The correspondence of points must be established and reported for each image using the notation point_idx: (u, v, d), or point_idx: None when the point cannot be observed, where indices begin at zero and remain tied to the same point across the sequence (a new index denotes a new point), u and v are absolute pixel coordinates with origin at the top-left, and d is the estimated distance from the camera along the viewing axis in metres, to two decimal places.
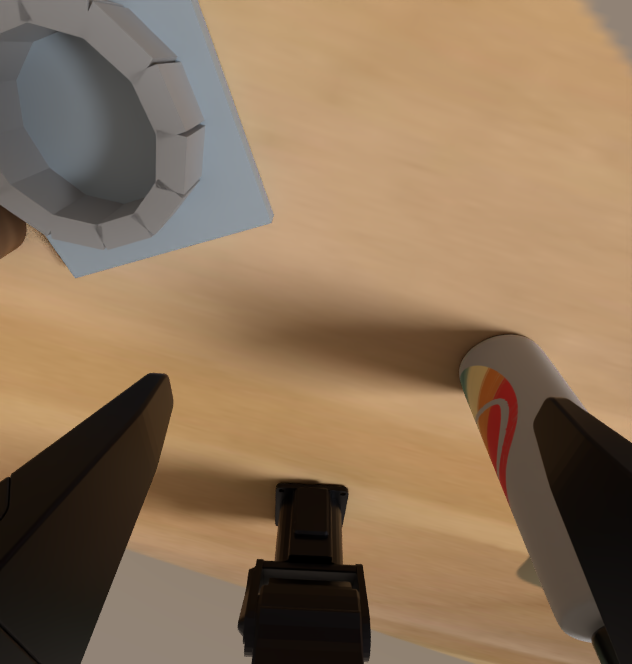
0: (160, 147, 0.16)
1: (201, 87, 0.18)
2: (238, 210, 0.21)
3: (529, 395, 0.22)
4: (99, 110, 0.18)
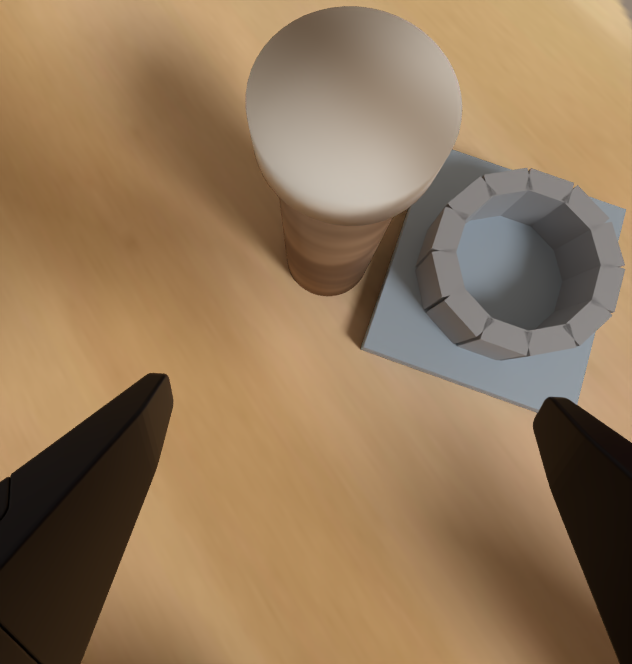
0: (587, 307, 0.20)
1: None
2: (553, 394, 0.22)
3: None
4: (506, 269, 0.23)
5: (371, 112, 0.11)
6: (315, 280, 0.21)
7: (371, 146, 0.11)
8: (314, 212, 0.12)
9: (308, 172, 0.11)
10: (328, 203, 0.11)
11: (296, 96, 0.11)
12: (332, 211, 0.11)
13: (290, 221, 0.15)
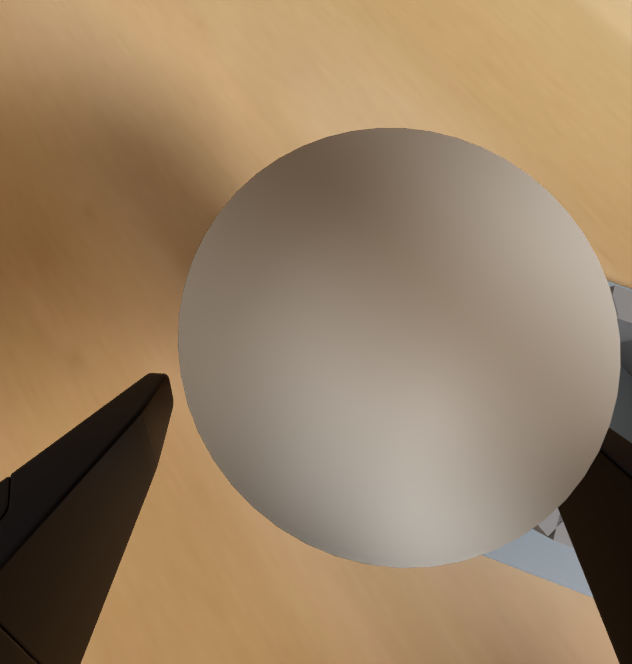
0: None
1: None
2: None
3: None
4: None
5: (437, 352, 0.05)
6: None
7: (438, 430, 0.05)
8: None
9: (306, 495, 0.05)
10: None
11: (283, 318, 0.05)
12: None
13: None
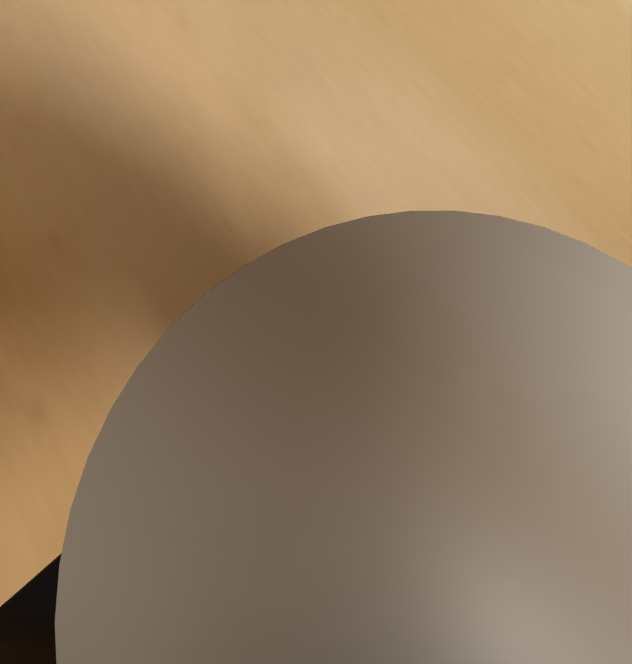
0: None
1: None
2: None
3: None
4: None
5: (522, 630, 0.03)
6: None
7: None
8: None
9: None
10: None
11: (247, 567, 0.03)
12: None
13: None
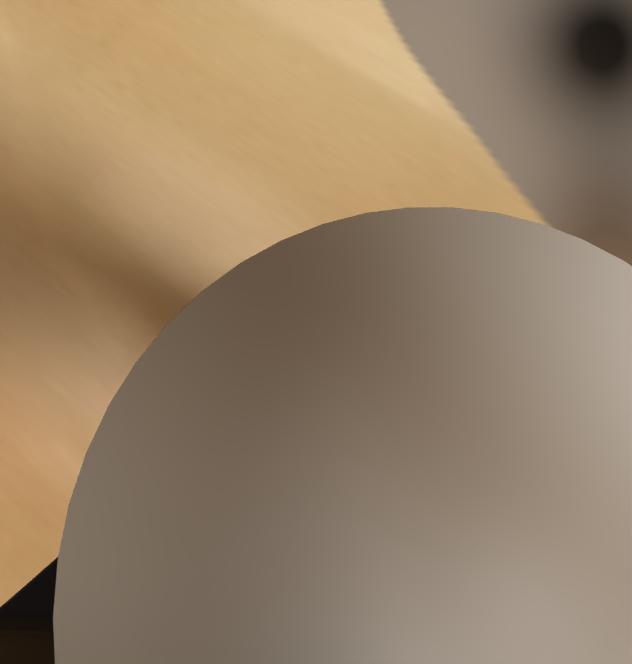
0: None
1: None
2: None
3: None
4: None
5: (518, 624, 0.03)
6: None
7: None
8: None
9: None
10: None
11: (244, 562, 0.03)
12: None
13: None
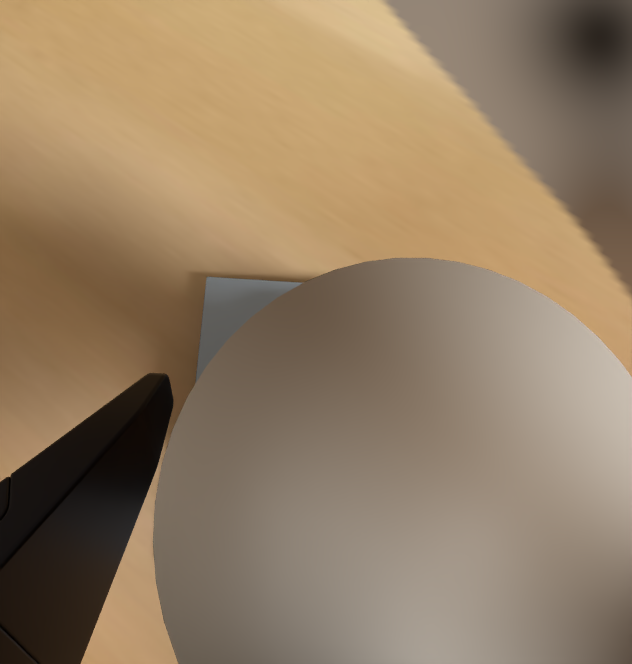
0: None
1: None
2: None
3: None
4: None
5: (469, 546, 0.04)
6: None
7: (473, 650, 0.04)
8: None
9: None
10: None
11: (283, 504, 0.04)
12: None
13: None
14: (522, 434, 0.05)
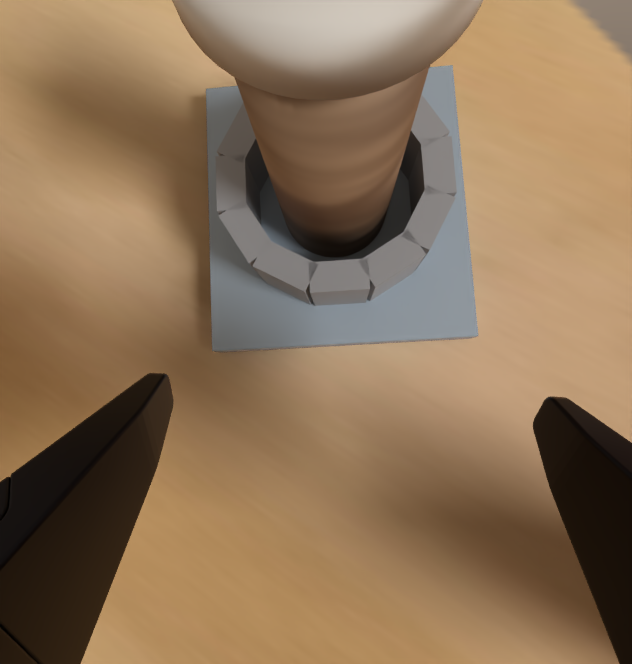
0: (423, 201, 0.16)
1: None
2: (444, 313, 0.18)
3: None
4: None
5: None
6: (319, 234, 0.16)
7: None
8: (279, 76, 0.07)
9: None
10: (296, 40, 0.06)
11: None
12: (308, 62, 0.06)
13: (264, 138, 0.11)
14: None
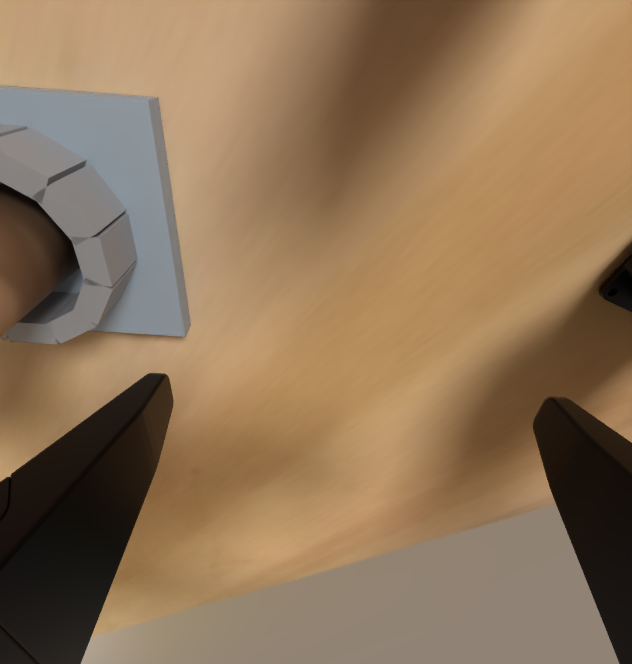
0: None
1: None
2: (128, 136, 0.17)
3: None
4: None
5: None
6: (58, 272, 0.18)
7: None
8: None
9: None
10: None
11: None
12: None
13: None
14: None
